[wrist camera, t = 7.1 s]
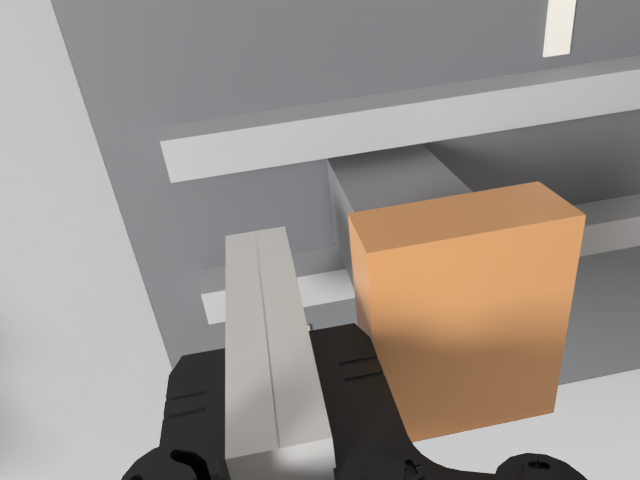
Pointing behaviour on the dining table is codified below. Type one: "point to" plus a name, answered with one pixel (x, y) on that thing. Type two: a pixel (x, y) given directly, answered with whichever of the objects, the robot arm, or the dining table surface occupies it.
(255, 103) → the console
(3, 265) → the dining table surface
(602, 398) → the dining table surface
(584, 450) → the dining table surface
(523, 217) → the fader
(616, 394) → the dining table surface
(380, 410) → the robot arm
